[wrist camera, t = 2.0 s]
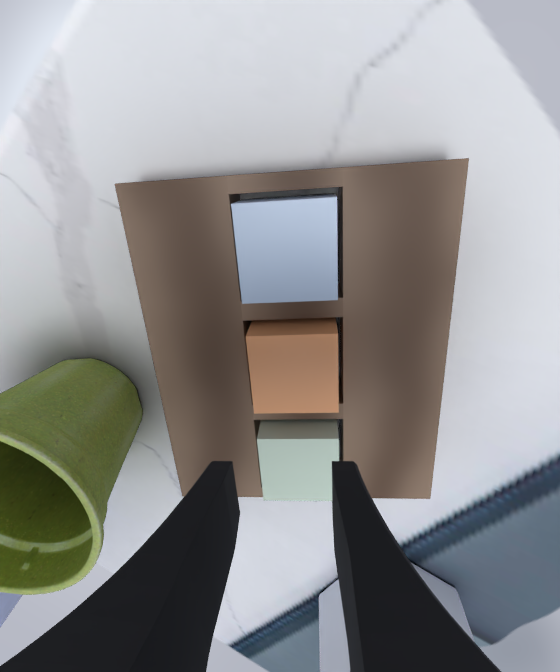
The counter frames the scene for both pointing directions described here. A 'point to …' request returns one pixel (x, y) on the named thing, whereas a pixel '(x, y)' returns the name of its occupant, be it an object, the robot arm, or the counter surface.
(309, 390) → the button terracotta
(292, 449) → the button sage
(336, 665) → the medicine bottle
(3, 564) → the plant pot
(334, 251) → the button slate
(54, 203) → the counter surface
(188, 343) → the button panel
